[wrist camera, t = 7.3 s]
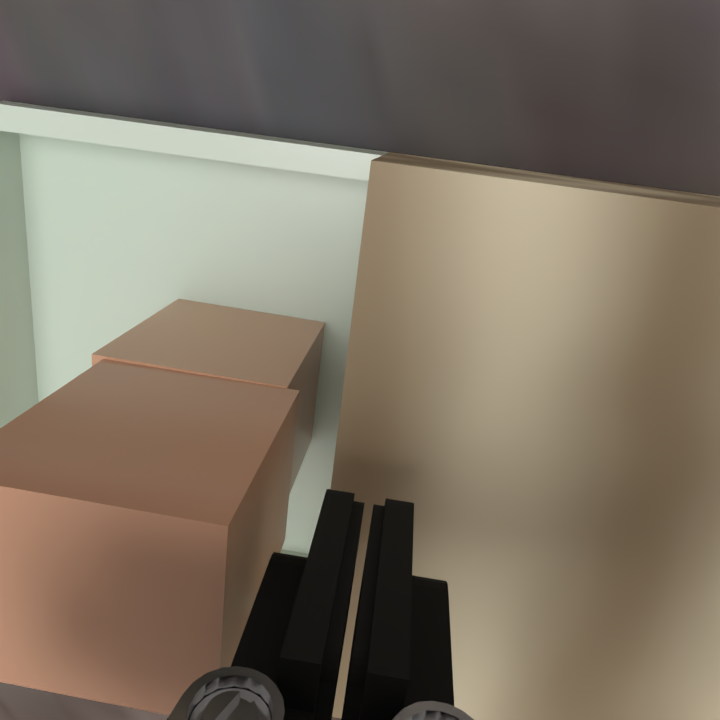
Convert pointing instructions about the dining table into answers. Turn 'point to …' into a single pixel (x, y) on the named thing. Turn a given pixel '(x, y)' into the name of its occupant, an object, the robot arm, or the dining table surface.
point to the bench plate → (545, 431)
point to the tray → (172, 249)
